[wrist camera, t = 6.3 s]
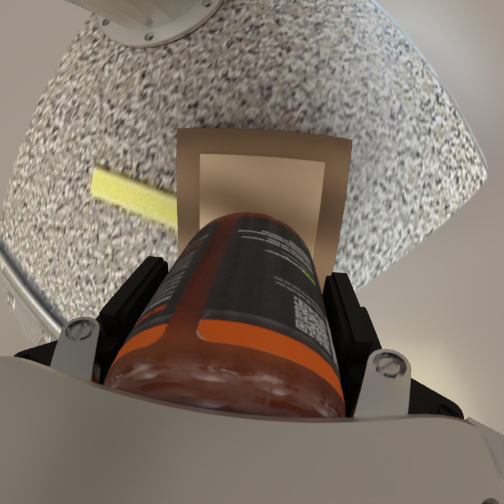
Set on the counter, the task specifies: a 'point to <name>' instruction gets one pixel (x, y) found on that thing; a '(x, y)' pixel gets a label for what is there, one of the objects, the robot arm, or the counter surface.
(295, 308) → the supplement bottle
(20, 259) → the counter surface
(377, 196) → the counter surface
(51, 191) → the counter surface
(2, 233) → the counter surface
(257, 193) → the base slab
